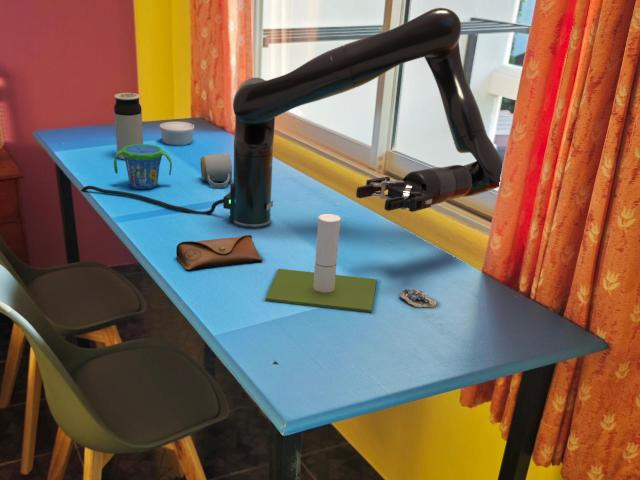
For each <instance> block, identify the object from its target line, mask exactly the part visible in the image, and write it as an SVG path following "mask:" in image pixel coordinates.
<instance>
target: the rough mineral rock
mask: <svg viewBox="0 0 640 480" xmlns="http://www.w3.org/2000/svg"><path fill="white" fill-rule="evenodd" d="M397 295H398V296H399V297H400V298H402V299H404V300H405V302H407V303H408V304H409V305H412V306H413V307H415V308H423V307H424V308H435V307H436V306H437V301H435V300H433V299H432V298H429V295H427V292H423V291H422V290H419V289H408V288H404V290H402V291H401V292H399V293H397Z"/></svg>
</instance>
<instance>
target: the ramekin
mask: <svg viewBox="0 0 640 480" xmlns="http://www.w3.org/2000/svg"><path fill="white" fill-rule="evenodd" d="M159 130H160V135H161V140H162V142H163V143H164V144H166V145H170V146H186V145H190V144H191V143H192V142H193V137H194V130H195V125H194V124H193V123H190V122H187V121H166V122H162V123H160V124H159Z"/></svg>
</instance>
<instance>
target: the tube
mask: <svg viewBox="0 0 640 480" xmlns="http://www.w3.org/2000/svg"><path fill="white" fill-rule="evenodd" d="M340 229H341V216H339V215H337V214H332V213H324V214H323V213H322V214H320V215H318V219H317V234H316V235H317V236H316V244H315V245H316V246H315V247H316V248H315V259H314V286H313V288H314V290H316V291H318V292H323V293H328V292H332V291H333V290H334V286H335V275H337V274H336V273H337V263H338V253H339V252H338V251H339V241H340Z"/></svg>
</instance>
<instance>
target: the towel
mask: <svg viewBox="0 0 640 480" xmlns="http://www.w3.org/2000/svg"><path fill="white" fill-rule="evenodd" d="M314 272H315V271H314ZM314 272H313V271H304V270H295V269H285V268H278V270H277V271H276V274H275V276H274V278H273V281H272V282H271V285H270V288H269V290H268V292H267V295H266V297H265V301H266V302H273V303H282V304H290V305H291V304H292V305H299V306H307V307H308V306H309V307H318V308H326V309H333V310H334V309H335V310H343V311H353V312H361V313H371V314H372V311H373V305H374V299H375V292H376V287H377V281H378V279H377V278H369V277H361V276H353V275H352V276H351V275H341V274H336V275H335V286H334V290H333V291H332V292H328V293H323V292H318V291H316V290H314V288H313V286H314Z"/></svg>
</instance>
